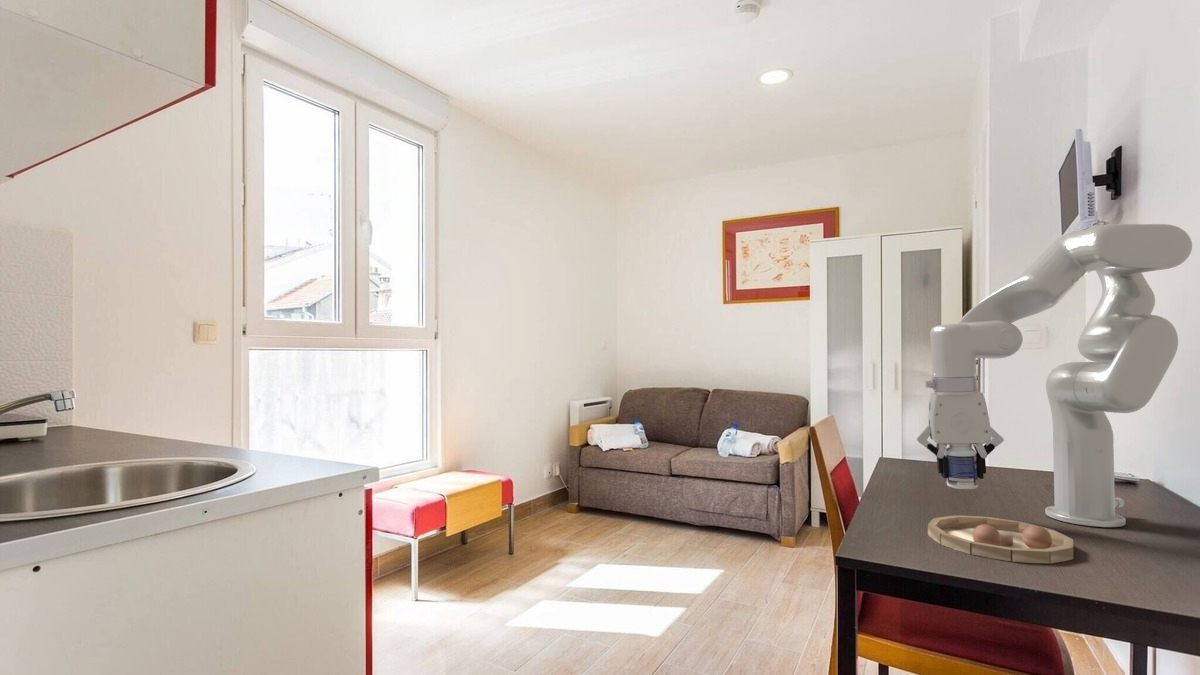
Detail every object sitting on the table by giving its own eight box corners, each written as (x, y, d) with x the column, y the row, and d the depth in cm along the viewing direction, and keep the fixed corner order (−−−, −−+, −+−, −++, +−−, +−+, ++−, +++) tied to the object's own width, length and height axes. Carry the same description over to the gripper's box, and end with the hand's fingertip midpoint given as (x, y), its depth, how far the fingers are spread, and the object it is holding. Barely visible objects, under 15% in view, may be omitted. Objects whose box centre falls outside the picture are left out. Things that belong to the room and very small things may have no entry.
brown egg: (983, 544, 102) (983, 520, 102) (1007, 551, 98) (1006, 526, 98) (966, 547, 100) (966, 522, 100) (990, 554, 97) (989, 529, 97)
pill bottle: (983, 489, 116) (979, 439, 116) (952, 490, 117) (949, 440, 117) (971, 483, 121) (968, 435, 121) (942, 483, 122) (939, 435, 123)
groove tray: (982, 526, 116) (981, 511, 116) (1102, 559, 97) (1102, 542, 97) (903, 537, 109) (903, 522, 109) (1017, 576, 90) (1017, 557, 90)
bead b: (1032, 545, 101) (1032, 521, 101) (1058, 552, 98) (1057, 527, 98) (1016, 548, 100) (1016, 523, 100) (1042, 555, 96) (1041, 530, 96)
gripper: (910, 388, 119) (917, 480, 118) (1011, 385, 113) (1018, 482, 113) (904, 386, 126) (910, 472, 125) (999, 383, 120) (1005, 473, 120)
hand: (961, 476), depth 119 cm, fingers closed on pill bottle, 5 cm apart
